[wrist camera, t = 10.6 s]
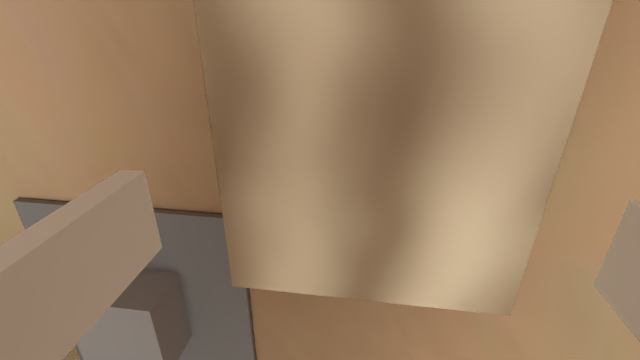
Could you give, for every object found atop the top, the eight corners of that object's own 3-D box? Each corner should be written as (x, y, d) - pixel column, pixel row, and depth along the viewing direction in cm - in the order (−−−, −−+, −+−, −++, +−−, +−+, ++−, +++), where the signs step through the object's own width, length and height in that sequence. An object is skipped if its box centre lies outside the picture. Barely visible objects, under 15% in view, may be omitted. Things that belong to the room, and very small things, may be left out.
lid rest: (84, 355, 36) (47, 399, 32) (19, 197, 28) (-42, 230, 24) (258, 379, 33) (242, 430, 29) (240, 215, 25) (215, 254, 21)
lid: (246, 258, 18) (232, 286, 16) (217, -10, 13) (191, -13, 11) (495, 282, 16) (510, 315, 15) (579, -11, 11) (617, -15, 9)
